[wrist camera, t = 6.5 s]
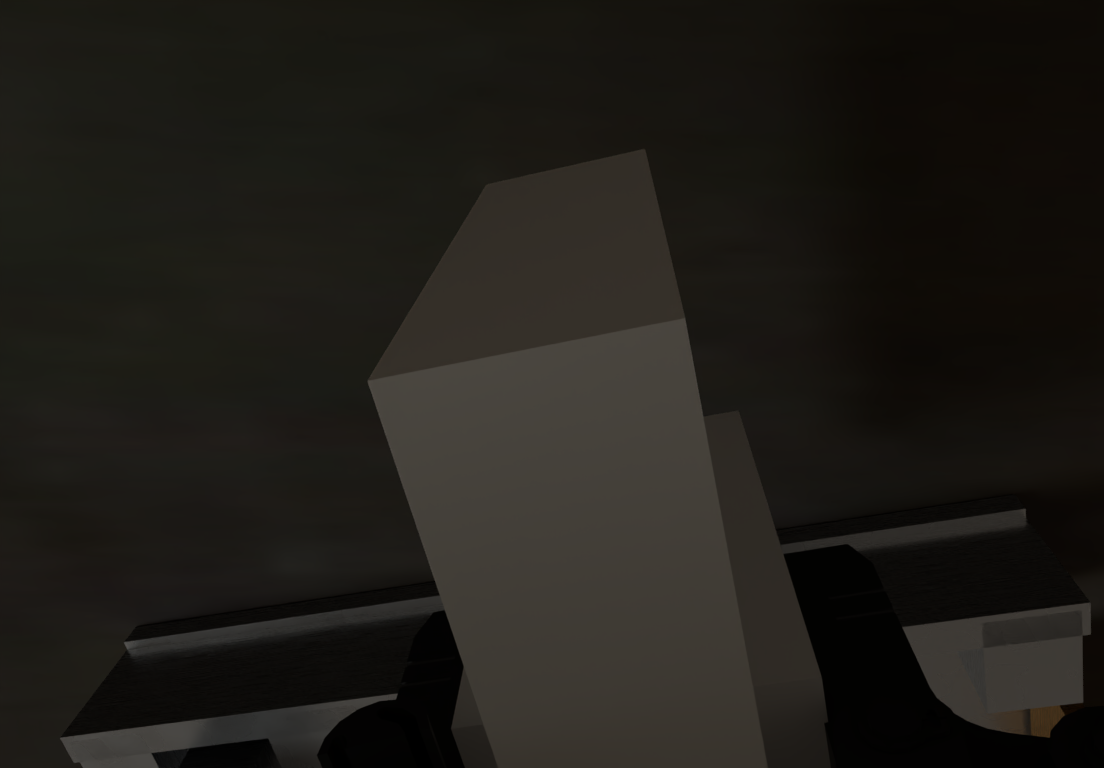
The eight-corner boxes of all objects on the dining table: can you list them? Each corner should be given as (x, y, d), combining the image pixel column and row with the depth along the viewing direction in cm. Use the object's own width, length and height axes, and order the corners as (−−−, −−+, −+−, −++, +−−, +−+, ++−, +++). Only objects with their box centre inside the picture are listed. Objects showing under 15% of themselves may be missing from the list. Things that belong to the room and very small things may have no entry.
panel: (630, 738, 19) (643, 1200, 12) (486, 184, 15) (367, 381, 7) (752, 722, 19) (845, 1187, 12) (645, 149, 14) (685, 317, 7)
